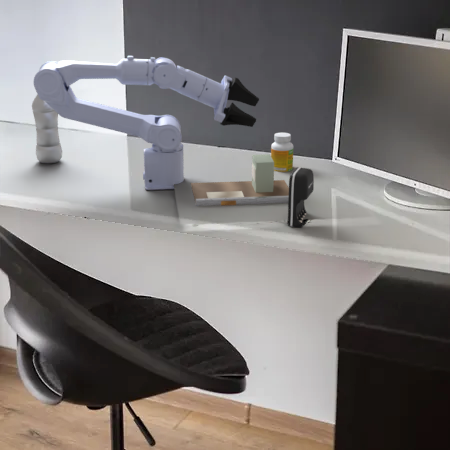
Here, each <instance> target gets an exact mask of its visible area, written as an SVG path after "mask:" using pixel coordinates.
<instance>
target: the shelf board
mask: <svg viewBox="0 0 450 450" xmlns="http://www.w3.org/2000/svg"><path fill="white" fill-rule="evenodd" d="M190 187H191V190H192V193H193V194H192V195H193V198H194V199H193V200H194V203H195V206H197V207H198V206H199V207H200V206H203V207H204V206H205V207H206V206H236V205H258V204H260V205H261V204H283V203H284V204H285V203H286V204H288V198H289V185H288V184H287V182H286V180H285V179H281V180H280V179H279V180H278V179H277V180H274V183H273V192H258V193H256V192H255V190H254V188H253V186H252V180H245V181H240V180H239V181H214V182H191V183H190Z"/></svg>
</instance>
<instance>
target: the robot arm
mask: <svg viewBox="0 0 450 450" xmlns="http://www.w3.org/2000/svg"><path fill="white" fill-rule="evenodd" d="M100 79H101V80H102V79H103V80H105V79H107V80H108V79H109V80H112V79H113V80H115V79H116V80H117V81H118V82H119V83H120V84H121V85H122V86H123V85H126V86H127V85H129V86H130V85H132V86H152V85H154V84H155V85H157V86H158V88H159V89H162V90H167V89H170V90H172V91H175V92H177V93H178V94H181V95H182V96H185V97H188V98H189V99H191V100H194V101H196V102H198V103H201V104H203V105H206V106H208V107H210V108H213V113H214V114H213V115H214V116H213V120H214V121H216V122H219V124H220V125H221V126H231V125H235V126H238V125H239V126H245V127H249V128H250V127H252V128H253V127H254V125H255V124H256V122H257V118H255V116H254V115H253V116H252V115H251V114H249V113H247V112H246V111H243V110H242V109H241V108H239V107H238V106H237V105H236V104H235V103H234V101H235V102H240V103H243V104H246V105H248V106H251V107H256V106H257V105H258V103H259V101H260V98H259V97H258V96H256V95H255V94H254V93H253V92H252V91H250V90H249V89H248V88H246V86H245V85H244V84H243V83H242V82H241V81H240V79H239V78H238V77H234V78H232V77H230V76H228V75H224V76H223V78H222V79H221V81H220V82H219V81H216V80H213V79H212V78H209V77H207V76H206V75H205V76H204V75H202V74H200V73H197V72H196V71H193V70H191V69H187V68H185V67H183V66H182V65H181V66H180V65H176V64H175V62H174V61H173V60H172V59H170V58H168V57H164V56H161V57H158V58H156V57H155V56H154V57H153V56H150V58H149V59H147V58H134V55H127V58H121V59H120V60H119V61H118V62H117V63H109V62H95V61H79V60H66V59H65V60H59V61H55V60H50V61H46V62H44V63H43V64H41V66H40V67H39V70H38V71H37V72H36V74H35V75H34V77H33V86H34V89H35V91H36V95H37V94H38V96H39V98H40V99H41V100H43V101H45V102H46V103H47V104H48V105H49V106H50V107H51V108H53V109H54V110H55V111H56V112H57V113H58V116H60V117H62V118H64V119H67V120H70V121H75V122H80V123H83V124H87V125H91V126H96V127H97V128H103V129H107V130H111V131H115V132H119V133H123V134H127V135H131V136H134V137H137V138H138V137H139V138H140V139H142V140H143V141H145V142H146V143H149V144H152V145H151V147H147V148H143V169H144V171H143V172H142V178H143V180H144V190H146V191H152V190H155V191H157V190H158V191H159V190H175V186H174V185H177V184H181V183H183V182H184V180H185V177H184V176H185V175H184V174H185V173H184V169H185V167H184V144H183V143H182V138H183V137H182V135H183V134H182V132H181V129H182V128H181V127H182V126H181V122H180V120H178V118H176V117H175V116H174V115H171V114H162V115H156V114H155V115H154V114H141V113H137V112H134V111H130V110H127V109H122V108H117V107H114V106H110V105H105V104H102V103H99V102H94V101H89V100H86V99H82V98H80V97H79V98H78V97H76V95H75V93H74V91H73V89H72V87H71V86H72V85H73V84H74V83H76V82H78V81H79V80H100ZM228 101H233V102H231V104H230V105H229V106H227V103H228Z"/></svg>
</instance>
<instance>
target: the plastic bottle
mask: <svg viewBox="0 0 450 450" xmlns="http://www.w3.org/2000/svg"><path fill="white" fill-rule="evenodd" d="M31 108H32V109H31V110H32V114H33V119H34V123H35V129H36V130H35V131H36V145H35V156H36V158H37V159H36V160H37V161H38V162H39V163H41V164H54V163H58V162H60V161H61V159H62V157H63V148H62V145H61V142H60V135H59V123H58V122H59V114H58V113H57V112H56V111H55V110H54V109H53V108H51V107H50V106H49V105H48V104H47V103H46V102H45V101H43V100H41V99H40V98H39V96H38V94H37V93H36V95H35V97H34V99H33V101H32V104H31Z"/></svg>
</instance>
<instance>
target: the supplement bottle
mask: <svg viewBox="0 0 450 450" xmlns="http://www.w3.org/2000/svg"><path fill="white" fill-rule="evenodd" d="M273 139H274V142H273V143H271V147H270V156H271V158H272V159H273V161H274V172H279V173H280V172H281V173H285V172H290V171H293V169H294V167H293V165H294V144H293V143H292V142H291V140H292V135H291V133H288V132H276V133H274V137H273Z"/></svg>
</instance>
